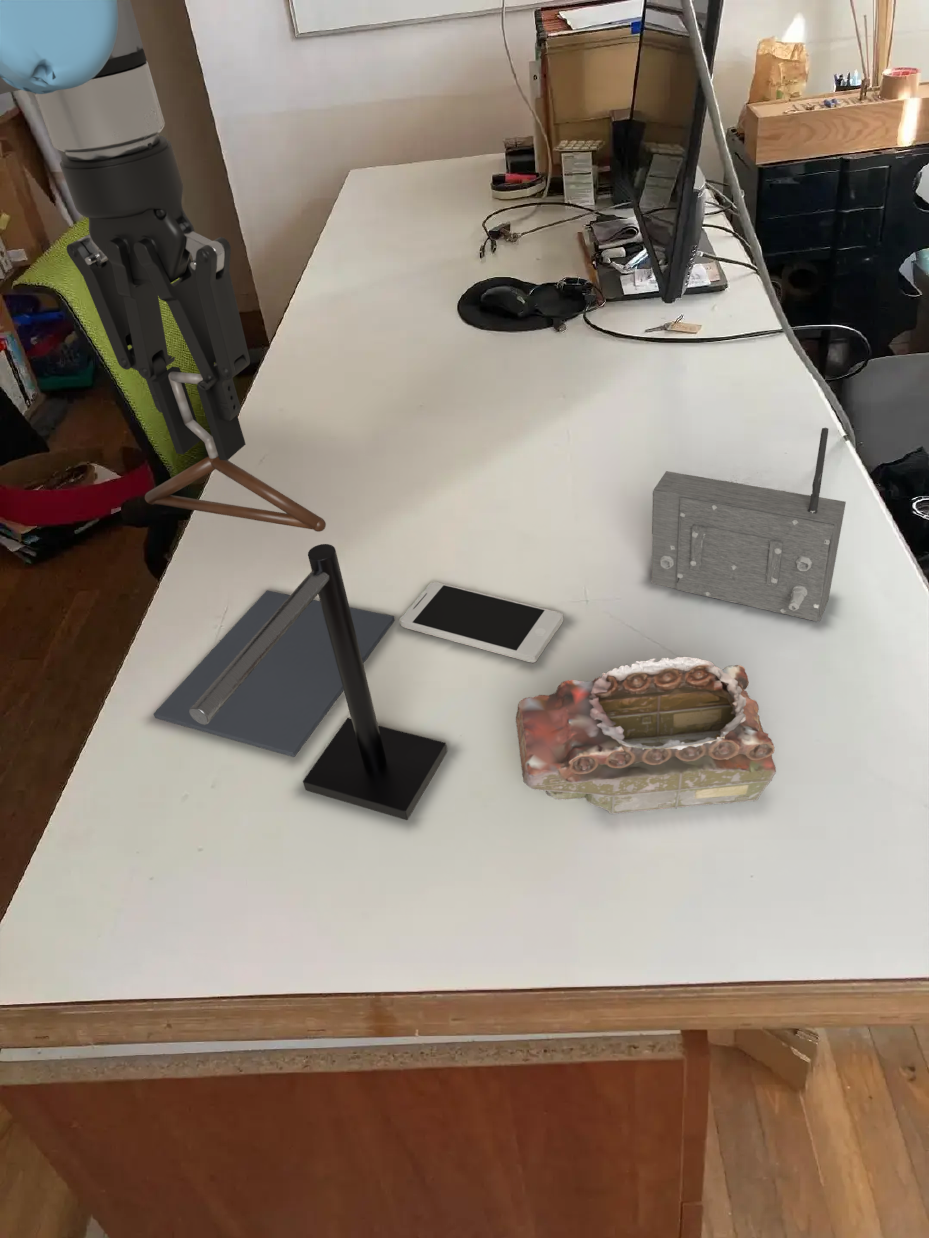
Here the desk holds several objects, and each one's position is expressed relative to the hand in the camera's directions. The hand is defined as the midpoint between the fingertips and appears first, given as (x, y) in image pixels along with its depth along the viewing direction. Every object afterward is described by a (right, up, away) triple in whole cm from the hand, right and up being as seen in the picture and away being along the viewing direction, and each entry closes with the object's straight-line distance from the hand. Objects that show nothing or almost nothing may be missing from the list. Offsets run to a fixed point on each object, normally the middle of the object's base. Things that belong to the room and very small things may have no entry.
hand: (210, 448), depth 78 cm
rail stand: (+11, -31, 0) cm, 33 cm away
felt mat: (+3, -19, +16) cm, 25 cm away
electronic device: (+48, -12, +16) cm, 53 cm away
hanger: (+1, -5, +4) cm, 7 cm away
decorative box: (+36, -29, -2) cm, 46 cm away
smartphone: (+23, -15, +17) cm, 32 cm away
